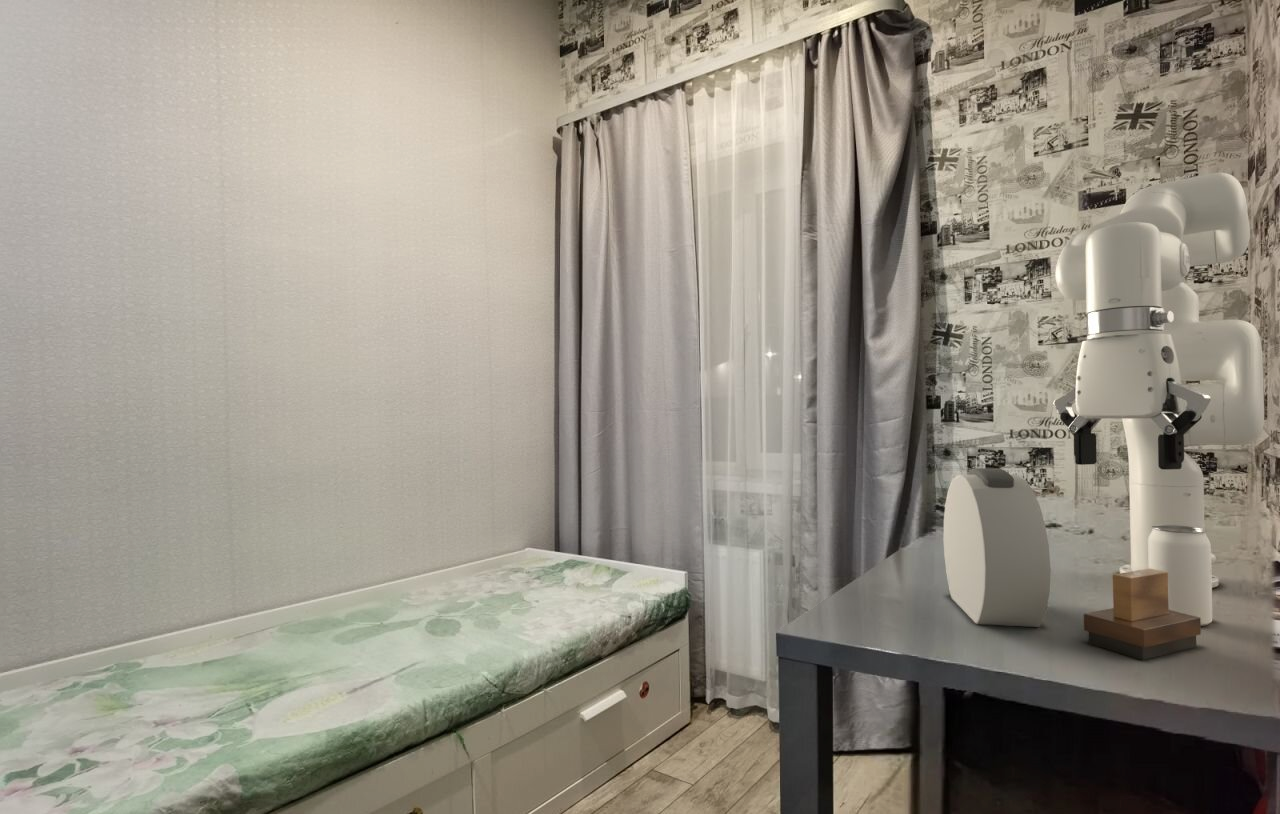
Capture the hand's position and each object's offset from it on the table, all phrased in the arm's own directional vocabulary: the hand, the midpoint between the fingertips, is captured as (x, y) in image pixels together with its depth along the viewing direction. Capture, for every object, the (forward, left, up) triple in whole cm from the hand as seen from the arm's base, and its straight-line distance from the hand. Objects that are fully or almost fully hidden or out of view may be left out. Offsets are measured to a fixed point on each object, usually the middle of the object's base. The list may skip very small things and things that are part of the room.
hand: (1125, 466), depth 81 cm
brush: (+1, +2, -21) cm, 21 cm away
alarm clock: (+5, -15, -21) cm, 26 cm away
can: (-14, -2, -21) cm, 25 cm away
